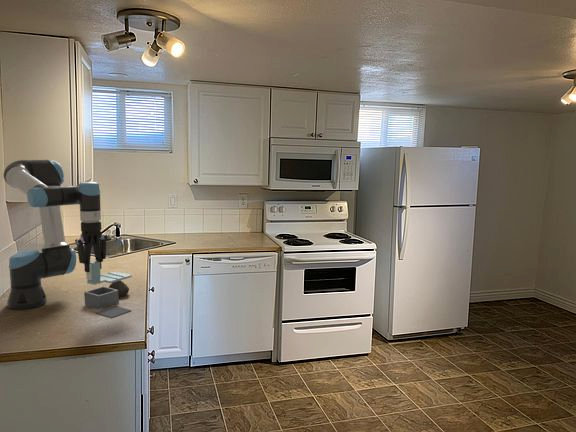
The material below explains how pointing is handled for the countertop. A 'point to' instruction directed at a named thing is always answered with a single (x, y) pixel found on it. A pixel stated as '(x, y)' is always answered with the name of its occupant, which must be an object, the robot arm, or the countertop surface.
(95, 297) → the tub
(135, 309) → the countertop surface
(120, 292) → the stone
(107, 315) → the mat
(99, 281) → the pale blue ridged block
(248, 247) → the countertop surface
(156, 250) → the countertop surface
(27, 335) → the countertop surface
